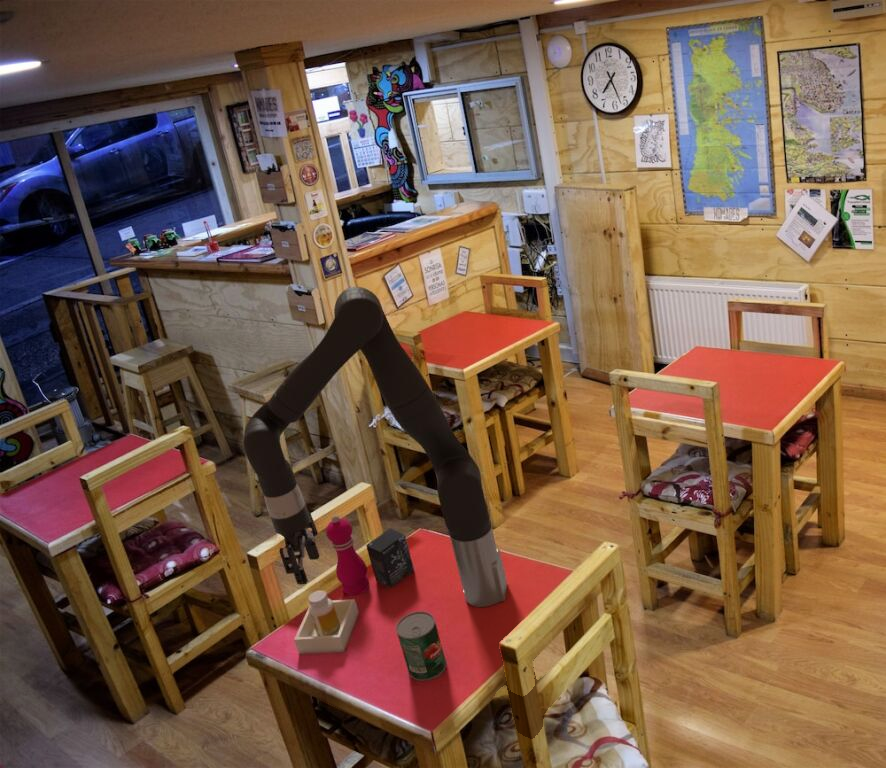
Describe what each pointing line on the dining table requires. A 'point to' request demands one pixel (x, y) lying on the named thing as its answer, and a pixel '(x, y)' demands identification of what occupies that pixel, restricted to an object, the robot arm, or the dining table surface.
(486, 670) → the dining table surface
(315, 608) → the supplement bottle
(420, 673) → the canned tomato
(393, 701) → the dining table surface
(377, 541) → the box
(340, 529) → the pepper mill
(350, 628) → the tub
